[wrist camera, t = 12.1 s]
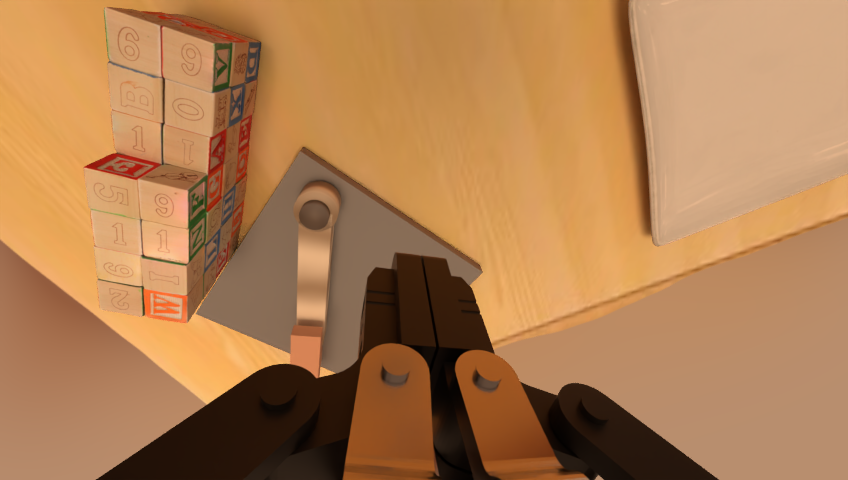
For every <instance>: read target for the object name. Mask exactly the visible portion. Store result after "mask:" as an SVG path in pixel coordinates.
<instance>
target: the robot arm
mask: <svg viewBox="0 0 848 480" xmlns="http://www.w3.org/2000/svg"><path fill="white" fill-rule="evenodd" d="M598 475H599V476H600V477H602V478H603V479H604V480H718V479H717V478H716V477H714V476H713V475H712V474H710V473H709V472H707V471H706V470H705V469H703V468H702V467H701V466H700V465H698V464H697V463H696V462H694V461H693V460H692V459H690V458H689V457H687V456H686V455H685V454H684V453H682V452H681V451H680V450H678V449H677V448H675V447H674V446H673V445H671V444H670V443H669V442H667V441H666V440H665V439H663V438H662V437H661V436H659V435H658V434H657V433H655V432H654V431H653V430H651V429H650V428H649V427H647V426H646V425H645V424H643V423H642V422H641V421H639V420H638V419H636V418H635V417H634V416H633V415H631V414H630V413H628V412H627V411H626V410H624V409H623V408H622V407H620V406H619V405H618V404H616V403H615V402H614V401H612V400H611V399H610V398H608V397H607V396H606V395H604V394H603V393H601V392H599V391H598V390H596V389H594V388H592V387H590V386H587V385H584V384H579V383H571V384H567V385H565V386H564V387H562V389H561V390H560V392H559V393H558V395H554V394H551V393H548V392H545V391H543V390H540V389H537V388H534V387H531V386H528V385H526V384H524V383H522V382H520V381H519V379H518V376H517V374H516V373H515V371H514V370H513V368H512V367H511V366H510V365H509V364H508V363H507V362H506V361H505V360H503V359H502V358H500V357H499V356H497V355H495V353H494V350H493V347H492V345H491V342H490V339H489V336H488V333H487V330H486V327H485V325H484V322H483V319H482V316H481V315H480V310H479V307H478V305H477V304H476V299H475V296H474V293H473V290H472V288H471V287H470V286H469V285H468V284H467V283H466V282H465V280H464V279H463V278H462V277H457V276H451V273H450V269H449V266H448V262H447V260H446V258H439V257H431V256H423V255H421V256H420V255H415V254H407V253H399V252H395V254H394V257H393V262H392V267H391V269H388V268H379V267H375V268H374V270H373V271H372V272H371V273H370V275H369V276H368V277H367V283H366V289H365V295H364V302H363V308H362V314H361V322H360V335H359V347H358V360H357V361H356V362H355V363H354V364H353V365H351V366H350V367H349V368H347V369H346V370H344V371H341V372H339V373H336V374H333V375H328V376H324V377H320V378H316V377H315V376H314V375H313V374H312V373H311V372H310V371H308V370H307V369H305V368H303V367H300V366H297V365H293V364H277V365H272V366H268V367H265V368H263V369H261V370H259V371H257V372H255V373H253V374H252V375H250V376H249V377H247V378H246V379H244V380H243V381H241V382H240V383H239V384H237V385H236V386H234V387H233V388H231V389H230V390H228V391H227V392H225V393H224V394H222V395H221V396H219V397H218V398H216V399H215V400H213V401H212V402H210V403H209V404H207V405H206V406H205V407H203V408H202V409H200V410H199V411H197V412H196V413H194V414H193V415H191V416H190V417H188V418H187V419H185V420H184V421H182V422H181V423H179V424H178V425H176V426H175V427H173V428H172V429H170V430H169V431H167V432H166V433H165V434H163V435H162V436H160V437H159V438H157V439H156V440H154V441H153V442H151V443H150V444H148V445H147V446H145V447H144V448H142V449H141V450H140V451H138V452H137V453H135V454H133V455H132V456H131V457H129V458H128V459H126V460H125V461H123V462H122V463H120V464H119V465H117V466H116V467H114V468H113V469H111V470H110V471H108V472H107V473H105V474H104V475H103V476H101V477H99V478H98V479H96V480H595V478H596V477H597V476H598Z"/></svg>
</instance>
